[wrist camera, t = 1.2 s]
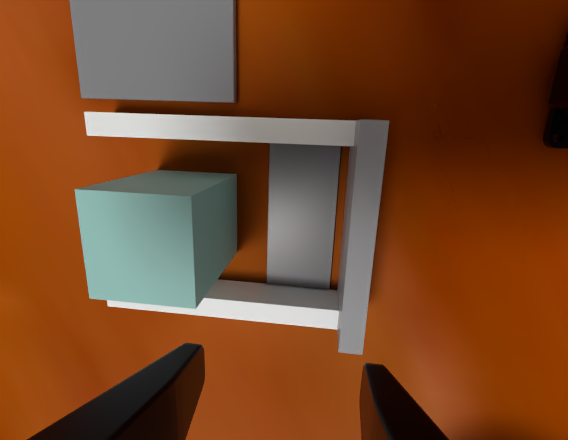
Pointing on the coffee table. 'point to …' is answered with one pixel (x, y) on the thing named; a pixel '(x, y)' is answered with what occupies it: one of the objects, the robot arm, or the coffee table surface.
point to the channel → (291, 216)
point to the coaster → (156, 49)
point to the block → (158, 236)
